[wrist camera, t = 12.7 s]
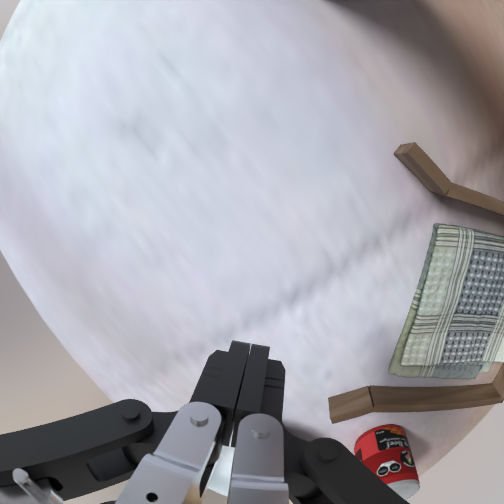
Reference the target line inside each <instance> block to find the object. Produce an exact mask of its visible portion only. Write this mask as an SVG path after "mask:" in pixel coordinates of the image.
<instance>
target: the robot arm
mask: <svg viewBox="0 0 504 504" xmlns="http://www.w3.org/2000/svg"><path fill="white" fill-rule="evenodd" d="M269 349H270V347H268V346H262V345H256V344H252V346H251V350H250V343H244V342H239V341H234V340H233V341H232V343H231V346H230V349H229V352H225V351H220V350H216V351H215V352H214V353H213V354H211V355H210V356H209V357H208V360H207V362H206V365H205V367H204V369H203V372H202V375H201V376H200V379H199V381H198V383H197V386H196V388H195V390H194V393H193V395H192V398H191V400H190V402H189V403H188V404H185V405H184V406H182V407H181V408H180V410H178V411H175V412H151V409H150V408H149V407H148V405H146V404H145V403H143V402H142V401H139V400H135V399H126V400H122V401H119V402H116V403H113V404H110V405H108V406H104V407H101V408H98V409H95V410H92V411H89V412H86V413H83V414H80V415H76V416H73V417H70V418H66V419H62V420H59V421H56V422H52V423H48V424H44V425H40V426H36V427H32V428H28V429H24V430H20V431H16V432H12V433H6V434H2V435H0V504H63V501H66V500H69V499H73V498H76V497H80V496H83V495H86V494H89V493H92V492H95V491H98V490H101V489H104V488H107V487H109V486H112V485H115V484H117V483H120V482H123V481H125V480H128V479H130V480H129V481H128V483H127V485H126V486H125V488H124V489H123V491H122V493H121V495H120V496H119V498H118V499H117V500H116V501H109V502H104V503H101V504H201V503H202V500H203V497H204V495H205V492H206V490H207V487H208V485H209V482H210V480H211V477H212V475H213V472H214V470H215V467H216V464H217V461H218V459H219V456H220V453H221V449H222V446H228V447H229V444H230V440H231V436H232V441H231V447H234V448H235V451H234V456H233V462H232V469H231V476H230V484H229V491H228V499H227V504H289V499H290V500H291V501H292V502H293V504H409V503H408V502H407V501H406V500H405V499H403V498H402V497H401V496H400V495H399V494H397V493H396V492H395V491H394V490H393V489H391V488H390V487H389V486H388V485H387V484H386V483H384V482H383V481H382V480H381V479H380V478H379V477H378V476H376V475H375V474H374V473H373V472H372V471H371V470H370V469H369V468H368V467H366V466H365V465H364V464H363V463H362V462H361V461H360V460H359V459H358V458H357V457H355V456H354V455H353V454H352V453H351V452H350V451H349V450H348V449H347V448H346V447H345V446H344V445H343V444H341V443H340V442H339V441H337V440H334V439H331V438H318V439H315V440H313V441H311V442H308V441H305V440H302V439H300V438H297V437H295V436H293V435H292V434H290V433H289V432H288V431H287V430H286V429H285V427H284V425H283V423H282V411H283V398H284V384H285V368H284V366H283V364H282V362H281V361H277V360H271V359H268V356H269ZM249 351H250V354H249ZM232 432H233V434H232Z"/></svg>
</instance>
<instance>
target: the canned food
mask: <svg viewBox="0 0 504 504" xmlns="http://www.w3.org/2000/svg"><path fill="white" fill-rule="evenodd" d="M354 453H355V457H357V458H358V459H359V460H360V461H361V462H362V463H363V464H364V465H365V466H366V467H368V468H369V469H370V470H371V471H372V472H373V473H374V474H375V475H376V476H378V477H379V478H380V479H381V480H382V481H383V482H384V483H386V484H387V485H388V486H389V487H390V488H391V489H393V490H394V491H395V492H396V493H397V494H399V495H400V496H401V497H402V498H403V499H405V500H406V499H408V498H410V497H411V496H413V495H414V494H415V493H416V492H417V491H418V490H419V488H420V485H419V479H418V474H417V471H416V467H415V463H414V460H413V457H412V453H411V450H410V446H409V443H408V440H407V437H406V434H405V432H404V430H403V429H402V428H401V427H400V426H398V425H382V426H378V427H376V428H373V429H371V430H369V431H367V432H365V433H364V434H363V435H361V436H360V437H359V438H358V440H357V441H356V443H355V447H354Z"/></svg>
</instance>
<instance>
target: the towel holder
mask: <svg viewBox="0 0 504 504" xmlns="http://www.w3.org/2000/svg"><path fill="white" fill-rule="evenodd" d="M394 155H395V156H396V157H397V158H398V159H399V160H400V161H401V162H402V163H403V164H404V165H405V166H406V167H407V168H408V169H409V170H410V171H411V172H412V173H413V174H414V175H415V176H416V177H417V178H418V179H419V180H420V181H421V183H422V184H423V185H424V186H425V187H426V188H427V189H428V190H429V191H431V192H433V193H437V194H440V195H443V196H447V197H450V198H453V199H456V200H460V201H463V202H466V203H469V204H472V205H475V206H478V207H481V208H484V209H487V210H489V211H492V212H495V213H498V214H500V215H503V216H504V202H503V201H500V200H498V199H495V198H493V197H490V196H487V195H485V194H482V193H479V192H477V191H474V190H471V189H468V188H466V187H463V186H460V185H457V184H454V183H451V182H450V180H449V179H448V178H447V177H446V176H445V174H444V173H443V172H442V171H441V170H440V169H439V168H438V166H437V165H436V164H435V163H434V162H433V161H432V160H431V159H430V158H429V156H428V155H427V154H426V153H425V152H424V151H423V150H422V149H421V148H420V147H419V146H418V145H417V144H416V143H415V142H414V143H408V144H403V145H400V146H399V148H398V149H397V150H396V151H395V153H394ZM328 400H329V411H330V419H331V421H332V424H334V423H338V422H341V421H345V420H348V419H352V418H355V417H359V416H362V415H365V414H368V413H372V412H423V411H439V410H451V409H461V408H470V407H477V406H484V405H491V404H497V403H502V402H503V400H504V363H503V365H502V367H501V369H500V370H499V372H498V374H497V376H496V377H495V379H494V381H493V383H491V384H480V385H467V386H446V387H388V386H370V387H369V389H368V386H366V387H363V388H360V389H357V390H354V391H350V392H347V393H344V394H340V395H337V396H333V397H330V398H328Z"/></svg>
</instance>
